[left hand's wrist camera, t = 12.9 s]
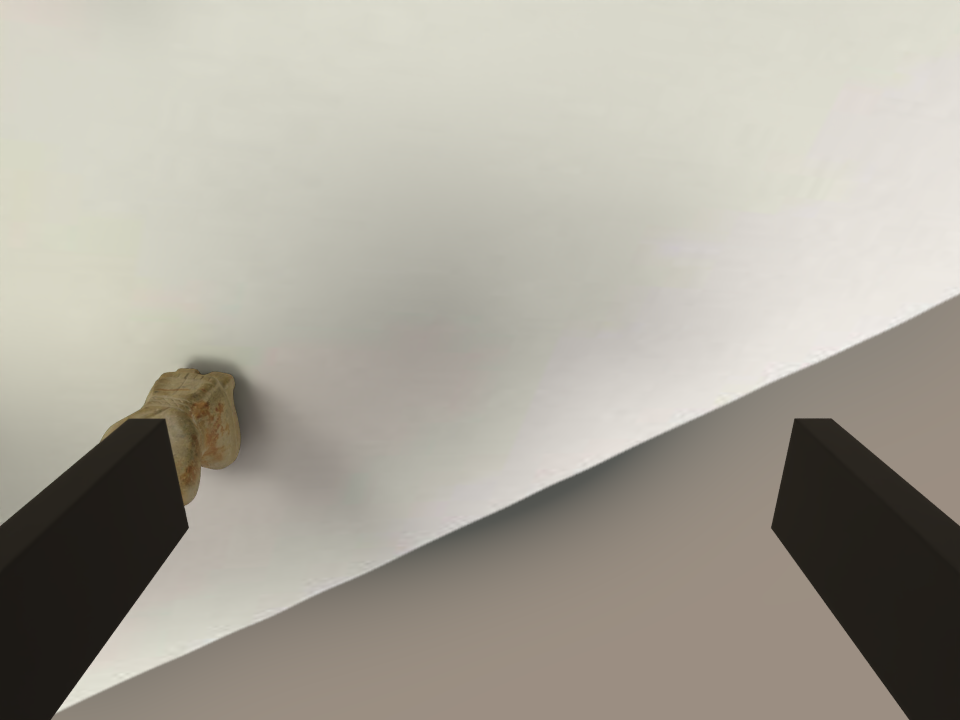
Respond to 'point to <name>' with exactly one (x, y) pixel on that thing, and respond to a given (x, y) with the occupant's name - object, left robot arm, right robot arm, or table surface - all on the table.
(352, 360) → the table surface
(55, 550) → the left robot arm
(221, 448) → the sculpture
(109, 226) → the table surface
